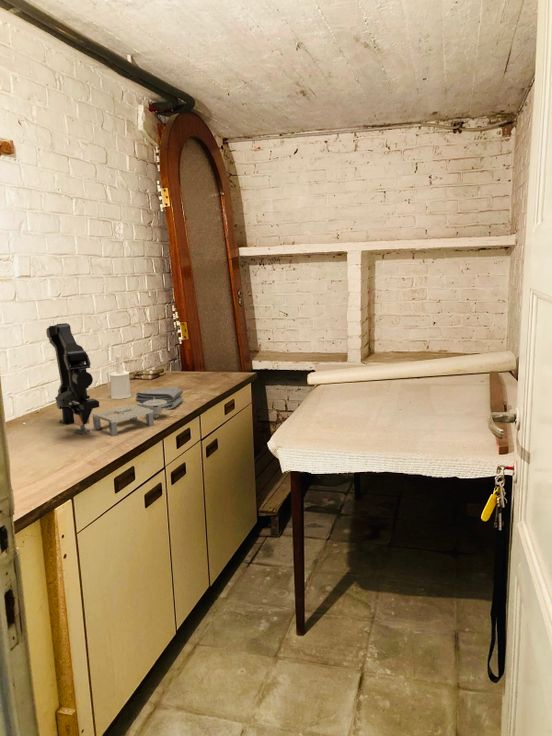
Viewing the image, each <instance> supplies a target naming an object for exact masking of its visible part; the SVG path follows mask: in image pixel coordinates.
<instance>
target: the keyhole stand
mask: <svg viewBox="0 0 552 736" xmlns="http://www.w3.org/2000/svg"><path fill="white" fill-rule="evenodd" d="M91 415H92V422H93V423H92V425H93V429H94V428H95V429H94V430H96V429H97V430H100V429H99V428H101V429H102V423H101V420H102V421H105V422H108V428H109V429H108V430H109V431H108V432H109V435H110V436H111V435H112V437H113V435H114V436H117V435H118V424H117V423H118V422H120V421H125V420H129V419H131V420H130V421H136V420H135V419H137V420H138V417H140V416H144V415H145V420H146V426H148V425H151V426H154V425H155V422H154V421H155V420H154V419H155V418H153V410H151V409H148V408H144V407H141V406H138V404H134V403H132V404H129V405H128V404H127V405H124V406H120V407H115V408H110V409H107V410H102V411H99V412H94V413H91ZM112 415H113V416H112ZM153 424H154V425H153Z"/></svg>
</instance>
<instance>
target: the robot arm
mask: <svg viewBox="0 0 552 736" xmlns="http://www.w3.org/2000/svg"><path fill="white" fill-rule="evenodd" d="M71 329H72V328H71V325H70V323H67V322H66V323H63V322H62V323H57V324H54V325H49V326H48V327H47V328H46V329H45V331H46V336H47V338H48V340H49V343H50V345H52V347H53V348H54V351H55V356H56V357H55V358H56V362H57V363H56V364H57V368H58V372H59V373H58V374H59V379H60V385H59V387H58V390H57V393H58V394H57V396H56V397H54V398H55V400H56V402H55V404H56V408H57V409H58V410H61V413H62V414H61V415H62V419H60V420H59V422H60V423H63V424H65V425H70V424H74V423H73V422H74V413H78V412H80V413H81V418H82V422H83V425H84V426H85V425H88V424H87V421H88V419H89V420H90V416H91V415H92V412H93V409H97V408H99V407H100V401H99V400H97V399H95V398H91V396H90V395H89V394H88V389H89V388H90V386H91V385H92V384H93V380H94V379H93V378H94V377H93V376H92V374H91V373H89V372H88V371H87V369H90V368H91V361H90V358H89V355H88V353H87V352H86V351H85V349H84V348H83V346H81V345H79V344H78V343H77V342H76V340H75V338H74V337H75V336H74V335H73V333H72V330H71ZM69 423H70V424H69Z"/></svg>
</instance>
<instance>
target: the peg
mask: <svg viewBox="0 0 552 736" xmlns="http://www.w3.org/2000/svg"><path fill="white" fill-rule="evenodd" d="M73 424H74V425H77V426H79V428H77V429H75V430H74V431H75V432H77V433H79V434H78V435H80V434H81V435H84V434H83V433H85V434H88V433H87V432H89V433H91V429H90V428H87V427H85V425H83V422H82V418H81V413H80V412H78V413H74V423H73ZM88 424H89V425H90V418H89V419H88V421H87V424H86V425H88ZM77 433H76V434H77Z"/></svg>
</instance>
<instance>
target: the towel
mask: <svg viewBox="0 0 552 736" xmlns="http://www.w3.org/2000/svg"><path fill="white" fill-rule="evenodd" d="M183 393H184V391H183V390H182V389H181V388H180V387H177V386H167V387H162V388H161V387H160V388H159V387H158V388H147V389H145V390H143V391H142V392H141V391H137V392H136V396H135V402H138V403H137V405H138V406H141V407H143V403H144V402H145V401H148V400H154V398H155V399H161V400H162V399H163V400H166V401H167V405H166V406H164V407H161V410H162V409H168V410H172V409H174V408H176V407H177V406H178V405H180V403H182V401H184V399H183V396H182V394H183ZM144 408H145V407H144ZM148 409H149V408H148ZM162 411H163V410H162Z"/></svg>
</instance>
